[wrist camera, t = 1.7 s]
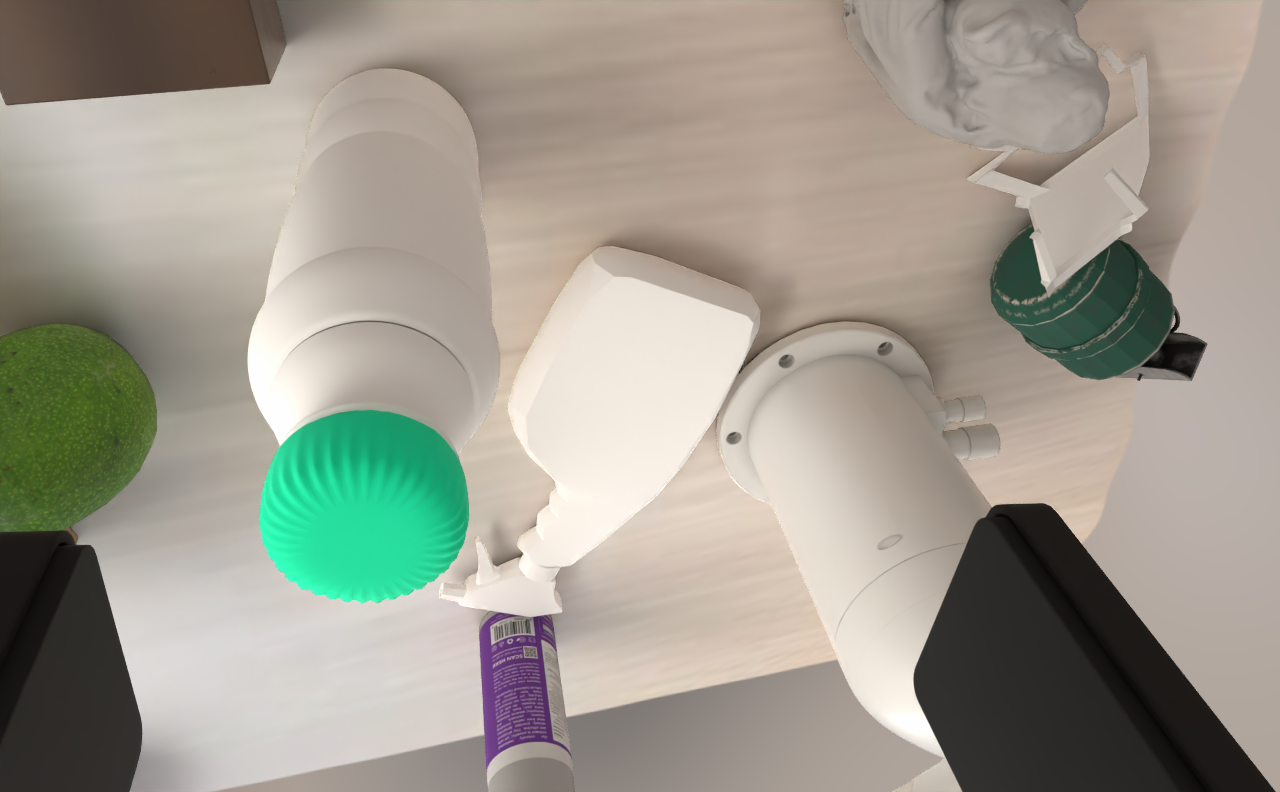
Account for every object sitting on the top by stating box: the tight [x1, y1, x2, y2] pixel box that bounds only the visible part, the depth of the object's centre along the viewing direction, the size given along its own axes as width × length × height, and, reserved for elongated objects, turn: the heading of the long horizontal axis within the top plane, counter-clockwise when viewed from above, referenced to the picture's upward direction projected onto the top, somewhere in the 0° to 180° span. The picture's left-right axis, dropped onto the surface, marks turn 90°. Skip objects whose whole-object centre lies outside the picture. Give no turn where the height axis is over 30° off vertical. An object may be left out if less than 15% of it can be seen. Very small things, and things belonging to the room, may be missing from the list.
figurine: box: [843, 0, 1110, 154], centre depth 37 cm, size 8×10×12 cm
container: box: [479, 611, 575, 792], centre depth 55 cm, size 5×5×15 cm
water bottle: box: [248, 68, 500, 603], centre depth 32 cm, size 7×7×25 cm
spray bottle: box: [439, 246, 760, 617], centre depth 52 cm, size 3×11×24 cm
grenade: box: [990, 224, 1207, 381], centre depth 50 cm, size 7×7×12 cm
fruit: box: [0, 323, 157, 532], centre depth 40 cm, size 8×8×12 cm
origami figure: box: [967, 44, 1150, 297], centre depth 45 cm, size 12×8×5 cm
